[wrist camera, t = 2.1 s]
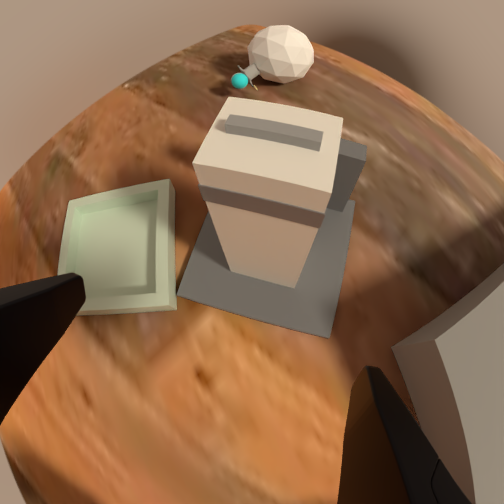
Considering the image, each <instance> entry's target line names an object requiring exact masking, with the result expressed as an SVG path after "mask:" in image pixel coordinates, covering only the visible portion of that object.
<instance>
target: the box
mask: <svg viewBox="0 0 504 504" xmlns="http://www.w3.org/2000/svg"><path fill="white" fill-rule="evenodd" d="M391 349H392V351H393V354H394V356H395V358H396V361H397V363H398V366H399V368H400V371H401V373H402V376H403V379H404V381H405V384H406V387H407V389H408V392H409V395H410V397H411V400H412V403H413V406H414V409H415V412H416V415H417V418H418V421H419V424H420V427H421V429H422V431H423V432H424V434H425V435H426V437H427V439H428V440H429V442H430V443H431V445H432V446H433V448H434V449H435V451H436V452H437V454H438V456H439V459H441V460H442V462H443V463H444V465H445V467H446V468H447V470H448V471H449V473H450V474H451V476H452V477H453V479H454V480H455V482H456V483H457V484H458V486H459V487H460V489H461V490H462V491H463V493H464V494H465V495H466V497H467V498H468V499H469V500H470V502H471V503H472V504H504V263H503V264H502V265H501V266H500V267H499V268H498V269H496V270H495V271H494V272H493V273H492V274H491V275H490V276H489V277H487V278H486V279H485V280H484V281H483V282H482V283H480V284H479V285H478V286H477V287H476V288H474V289H473V290H472V291H471V292H469V293H468V294H467V295H466V296H464V297H463V298H462V299H461V300H459V301H458V302H457V303H455V304H454V305H453V306H451V307H450V308H449V309H447V310H446V311H445V312H443V313H442V314H441V315H439V316H438V317H436V318H435V319H433V320H432V321H431V322H429V323H428V324H426V325H425V326H423V327H422V328H420V329H419V330H417V331H416V332H414V333H413V334H411V335H410V336H408V337H406V338H405V339H403V340H402V341H400V342H398V343H397V344H395V345H394V346H392V347H391Z"/></svg>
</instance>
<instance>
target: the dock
mask: <svg viewBox="0 0 504 504" xmlns="http://www.w3.org/2000/svg"><path fill="white" fill-rule="evenodd" d="M366 150H367V146H366V145H362V144H359V143H356V142H352V141H349V140H345V139H341V138H340V145H339V152H338V158H337V165H336V171H335V177H334V183H333V189H332V194H331V197H330V199H329V202H328V205H327V209H326V214H325V217H324V219H323V222H322V225H321V227H320V229H319V228H318V231H317V234H316V236H315V239H314V241H313V244H312V246H311V249H310V251H309V254H308V256H307V259H306V261H305V264H304V266H303V269H302V271H301V274H300V276H299V278H298V281H297V283H296V286H295V288H290V287H287V286H283V285H279V284H275V283H272V282H268V281H264V280H261V279H257V278H253V277H249V276H246V275H242V274H239V273H235V272H231V271H230V268H229V265H228V262H227V260H226V257H225V254H224V252H223V249H222V246H221V243H220V241H219V238H218V235H217V232H216V230H215V227H214V224H213V221H212V218H211V216H210V213H209V211H208V213H207V216H206V218H205V221H204V223H203V226H202V228H201V231H200V233H199V236H198V238H197V241H196V243H195V246H194V249H193V251H192V254H191V256H190V259H189V262H188V264H187V267H186V270H185V273H184V275H183V278H182V281H181V283H180V286H179V289H178V292H177V296H179V297H182V298H185V299H188V300H191V301H194V302H198V303H201V304H204V305H207V306H210V307H213V308H217V309H220V310H223V311H227V312H230V313H233V314H237V315H240V316H244V317H247V318H250V319H254V320H258V321H261V322H265V323H268V324H272V325H276V326H279V327H283V328H287V329H291V330H295V331H299V332H303V333H307V334H311V335H315V336H319V337H323V338H327V339H328V338H330V334H331V330H332V326H333V321H334V317H335V313H336V308H337V304H338V299H339V294H340V289H341V284H342V279H343V274H344V269H345V263H346V258H347V252H348V246H349V240H350V234H351V227H352V220H353V213H354V206H355V201H353V200H349V197H350V195H351V193H352V191H353V189H354V186H355V184H356V182H357V180H358V178H359V175H360V173H361V171H362V169H363V167H364V164H365V162H366Z"/></svg>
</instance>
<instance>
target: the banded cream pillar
mask: <svg viewBox="0 0 504 504" xmlns="http://www.w3.org/2000/svg"><path fill="white" fill-rule="evenodd" d="M342 123H343V118H341V117H337V116H333V115H329V114H325V113H320V112H316V111H312V110H307V109H302V108H298V107H293V106H287V105H282V104H276V103H270V102H264V101H258V100H251V99H243V98H235V97H228V99H227V101H226V102H225V104H224V106H223V107H222V109H221V111H220V113H219V114H218V116H217V118H216V120H215V121H214V123H213V125H212V127H211V129H210V130H209V132H208V134H207V136H206V138H205V140H204V141H203V143H202V145H201V147H200V149H199V151H198V153H197V155H196V157H195V159H194V160H193V162H192V164H193V167H194V170H195V173H196V176H197V178H198V181H199V184H198V187H199V189H200V192H201V195H202V198H203V201H206V204H207V207H208V210H209V213H210V216H211V218H212V221H213V224H214V227H215V230H216V232H217V235H218V238H219V241H220V243H221V246H222V249H223V252H224V254H225V257H226V260H227V262H228V265H229V268H230V271H231V272H235V273H239V274H242V275H246V276H249V277H253V278H257V279H261V280H264V281H268V282H272V283H275V284H279V285H283V286H287V287H290V288H295V286H296V283H297V281H298V278H299V276H300V274H301V271H302V269H303V266H304V264H305V261H306V259H307V256H308V254H309V251H310V249H311V246H312V244H313V241H314V239H315V236H316V234H317V231H318V228H319V229H320V227H321V225H322V222H323V219H324V217H325V214H326V209H327V205H328V202H329V199H330V197H331V194H332V189H333V183H334V177H335V171H336V165H337V158H338V152H339V145H340V138H341V131H342Z"/></svg>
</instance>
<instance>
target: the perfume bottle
mask: <svg viewBox="0 0 504 504" xmlns="http://www.w3.org/2000/svg"><path fill="white" fill-rule="evenodd" d="M248 55H249V63H250V66H248V67H247V68H245V69H244V70H243V69H242V68H240V67H239V65H237V66H238V67H239V69H240V71H241V73H235V74H234V75H233V76H232V77H231V84H232V86H233V87H234V88H236V89H243V88H245V87H246V86H247V84H248V82H249V83H250V84H251V85H252V82H251V80H252V79H253V78H255V77H256V76H258V75H260V76H261V77H262V78H263V79H266V80H270V81H274V82H279V83H283V84H285V83H288V82H291V81H294V80H297V79H300V78H303V77H304V75H305V74H306V73H307V71H308V70H309V68H310V67H311V65H312V64H313V62H314V50H313V47H312V45H311V43H310V41H309V40H308V38H307V37H306V35H305V34H303V33H301V32H300V31H298V30H296V29H294V28H293V27H291V26H289V25H278V26H269V27H267V28H265V29H263V30H261V31H259V32H258V33H257V34H256V35H255V36H254V38H253V39H252V41H251V42H250V44H249V45H248ZM252 87H255V85H252ZM255 88H256V87H255ZM256 90H258V89H257V88H256Z"/></svg>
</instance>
